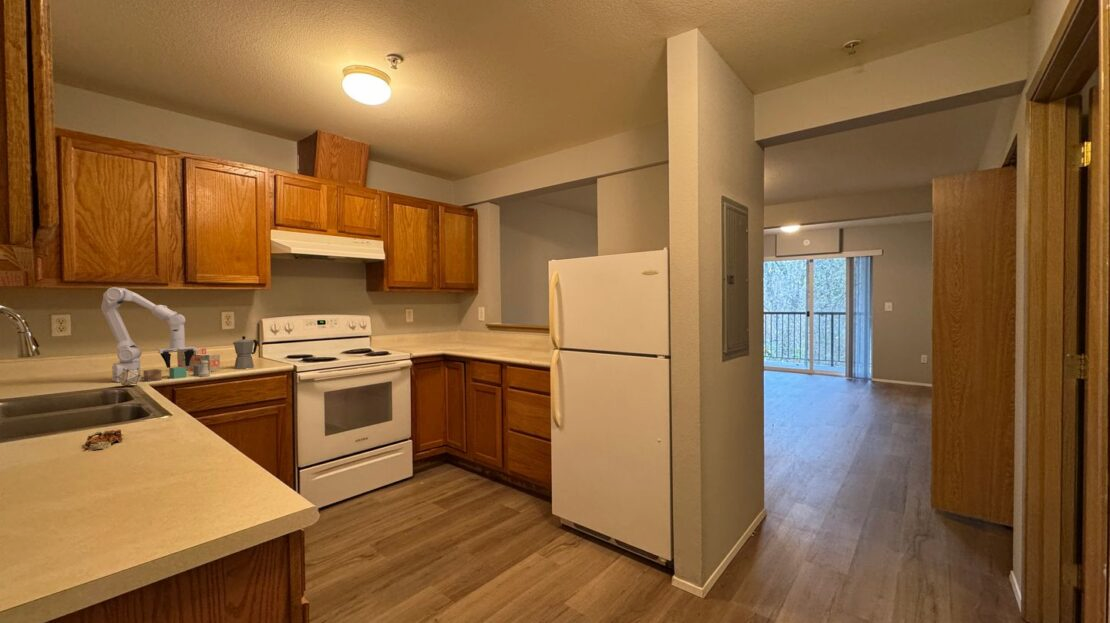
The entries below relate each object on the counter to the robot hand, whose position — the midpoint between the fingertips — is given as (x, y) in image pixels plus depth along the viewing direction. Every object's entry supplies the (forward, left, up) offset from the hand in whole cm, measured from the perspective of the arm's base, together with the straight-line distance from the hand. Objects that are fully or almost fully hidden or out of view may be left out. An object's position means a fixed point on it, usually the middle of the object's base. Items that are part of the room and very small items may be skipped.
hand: (177, 366), depth 229 cm
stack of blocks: (+16, +18, -6) cm, 25 cm away
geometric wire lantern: (-22, -12, -6) cm, 26 cm away
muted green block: (0, 0, -6) cm, 6 cm away
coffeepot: (+35, +8, -6) cm, 36 cm away
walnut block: (-10, 0, -6) cm, 11 cm away
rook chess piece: (+8, -8, -6) cm, 12 cm away
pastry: (-60, -117, -6) cm, 132 cm away
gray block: (+10, 0, -6) cm, 11 cm away
